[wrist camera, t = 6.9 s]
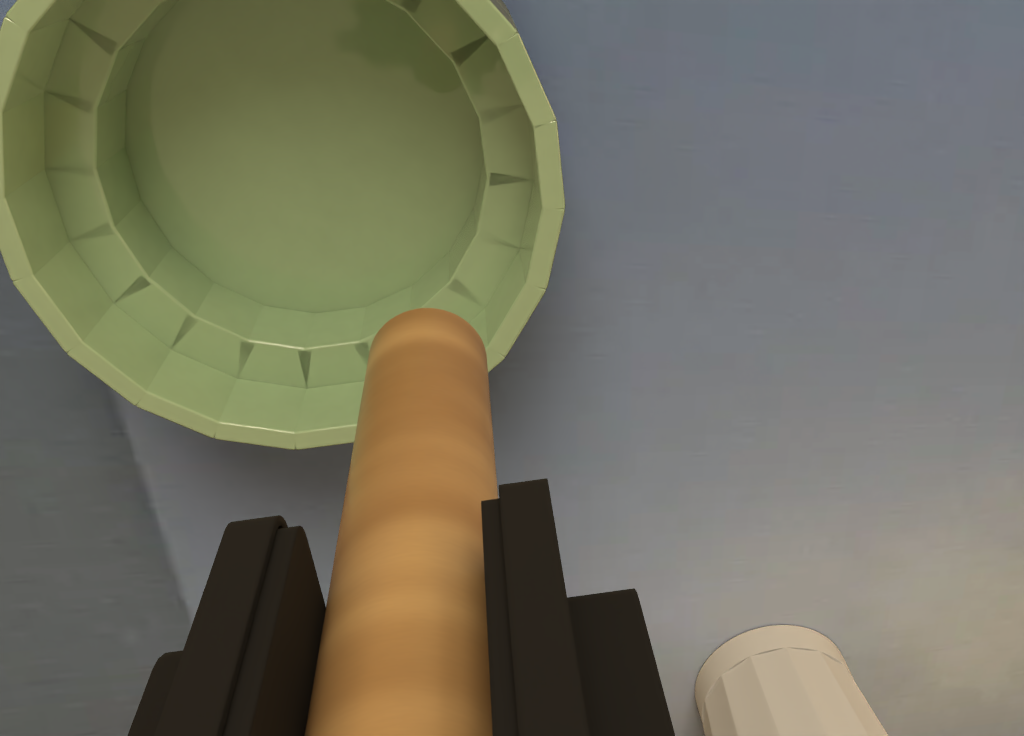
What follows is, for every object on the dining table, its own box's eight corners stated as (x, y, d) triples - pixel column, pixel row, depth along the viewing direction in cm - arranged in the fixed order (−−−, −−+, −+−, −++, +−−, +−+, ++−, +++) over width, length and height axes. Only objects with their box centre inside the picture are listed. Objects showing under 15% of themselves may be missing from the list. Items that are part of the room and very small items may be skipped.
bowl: (65, -170, 26) (-37, -183, 20) (589, -57, 28) (622, -42, 22) (66, 319, 32) (-13, 409, 26) (495, 384, 34) (504, 479, 28)
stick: (358, 314, 16) (182, 1162, 5) (478, 297, 16) (537, 1115, 5) (380, 418, 17) (267, 1323, 6) (493, 402, 17) (570, 1283, 6)
